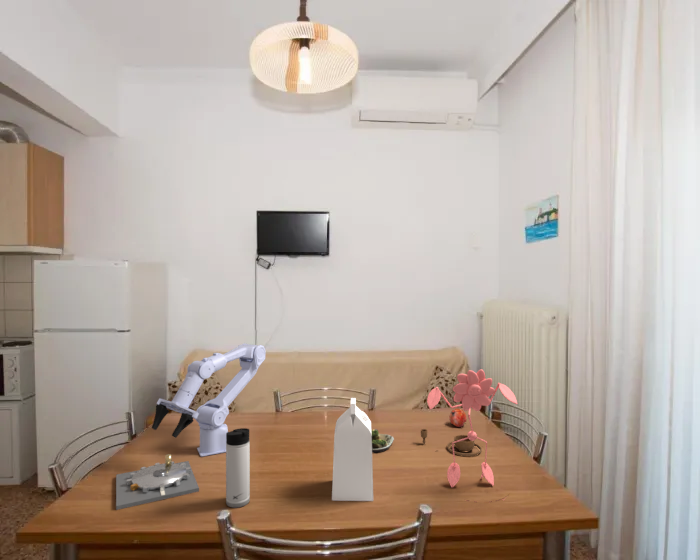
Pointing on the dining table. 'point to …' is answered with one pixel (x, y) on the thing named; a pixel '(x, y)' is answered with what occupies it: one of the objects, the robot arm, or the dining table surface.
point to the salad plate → (380, 441)
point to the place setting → (457, 444)
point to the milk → (352, 457)
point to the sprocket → (159, 476)
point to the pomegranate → (457, 417)
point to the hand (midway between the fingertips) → (163, 432)
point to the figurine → (472, 394)
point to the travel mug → (237, 468)
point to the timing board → (138, 497)
